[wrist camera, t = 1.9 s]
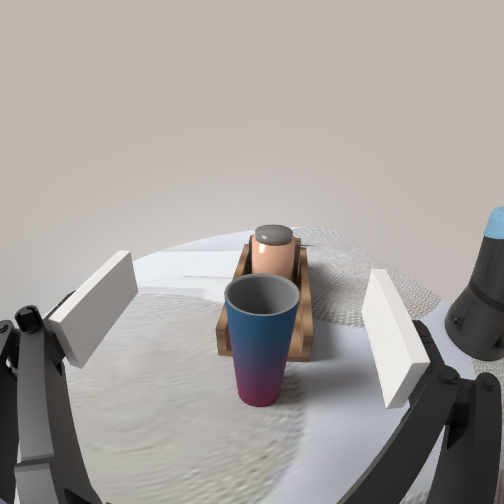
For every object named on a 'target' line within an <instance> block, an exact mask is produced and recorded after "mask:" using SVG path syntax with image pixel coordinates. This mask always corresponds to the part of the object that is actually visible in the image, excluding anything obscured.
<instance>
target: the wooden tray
mask: <svg viewBox="0 0 504 504" xmlns="http://www.w3.org/2000/svg"><path fill="white" fill-rule="evenodd" d="M252 237H253V235H251V236H250V239H251V240H252ZM295 242H300V246H301V238H295ZM248 274H249V244H245V245H244V248H243V251H242V254H241V257H240V260H239V263H238V265H237V268H236V271H235V274H234V277H233V280H235V279H236V278H238V277H241V276H244V275H248ZM233 280H232V281H233ZM292 282H293V283H294V284H295V285H296V286H297V287H298V289H299V291H300V300H299V305H298V310H297V315H296V320H295V324H294V329H293V334H292V339H291V343H290V348H289V352H288V357H287V361H293V362H308V361H309V356H310V351H311V346H312V341H313V321H312V308H311V296H310V284H309V273H308V263H307V253H306V248H303V247H300V252H299V263H298V274H297V278H292ZM216 336H217V346H218V355H224V356H232V357H233V354H232V347H231V340H230V333H229V326H228V318H227V311H226V303H224V306H223V309H222V312H221V315H220V318H219V320H218V323H217V326H216Z"/></svg>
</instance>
